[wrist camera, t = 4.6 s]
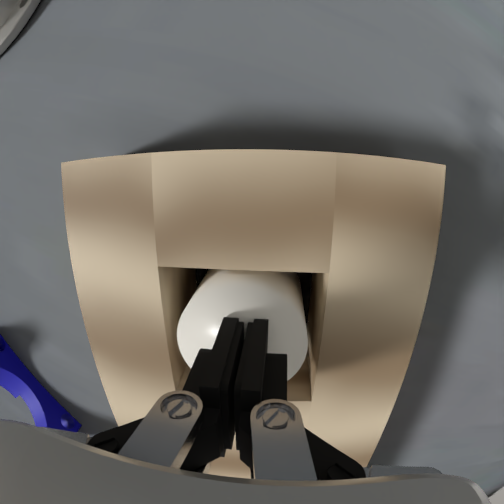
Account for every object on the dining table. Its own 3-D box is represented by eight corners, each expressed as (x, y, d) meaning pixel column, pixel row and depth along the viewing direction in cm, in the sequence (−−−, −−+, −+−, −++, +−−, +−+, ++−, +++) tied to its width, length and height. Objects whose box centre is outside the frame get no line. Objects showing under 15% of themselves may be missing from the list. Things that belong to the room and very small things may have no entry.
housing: (119, 157, 15) (61, 162, 10) (397, 159, 14) (446, 165, 9) (181, 488, 24) (169, 526, 19) (322, 498, 23) (323, 538, 18)
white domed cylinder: (202, 243, 15) (170, 281, 11) (304, 247, 15) (314, 287, 10) (206, 330, 17) (184, 387, 12) (297, 335, 17) (301, 395, 12)
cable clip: (-14, 343, 21) (-50, 373, 16) (-4, 326, 20) (-45, 358, 14) (64, 431, 24) (38, 470, 18) (82, 423, 22) (54, 467, 17)
